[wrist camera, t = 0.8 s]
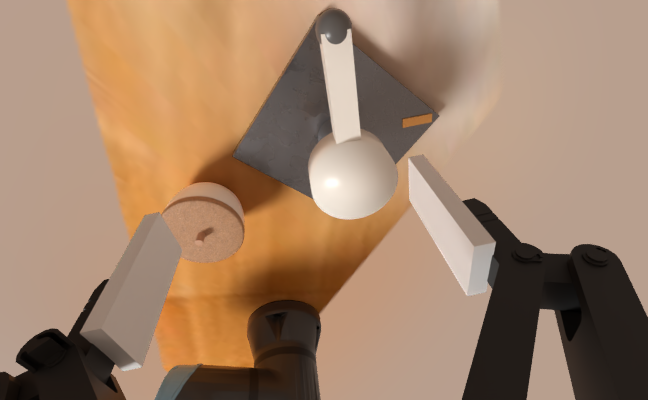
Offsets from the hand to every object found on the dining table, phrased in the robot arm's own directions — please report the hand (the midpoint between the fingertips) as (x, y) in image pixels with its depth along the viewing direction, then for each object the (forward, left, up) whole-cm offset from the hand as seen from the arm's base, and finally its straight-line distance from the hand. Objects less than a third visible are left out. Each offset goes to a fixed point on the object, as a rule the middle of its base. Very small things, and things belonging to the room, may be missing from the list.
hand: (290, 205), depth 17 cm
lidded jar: (-21, -1, -27) cm, 34 cm away
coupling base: (-2, -10, -27) cm, 29 cm away
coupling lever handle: (+2, -6, -17) cm, 18 cm away
